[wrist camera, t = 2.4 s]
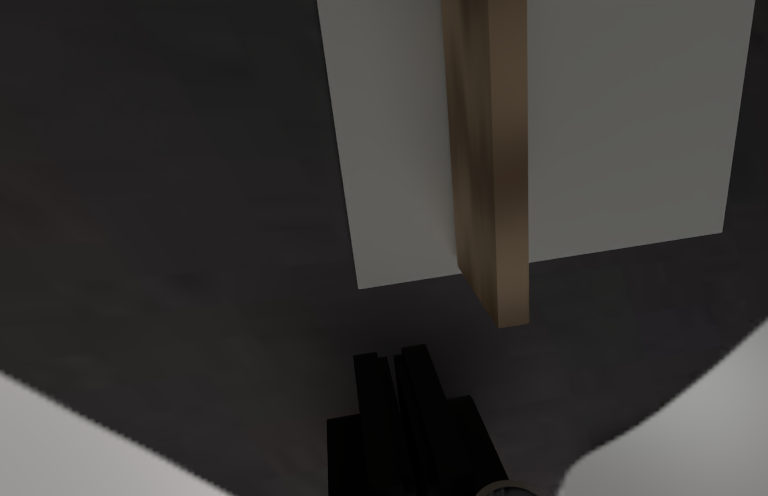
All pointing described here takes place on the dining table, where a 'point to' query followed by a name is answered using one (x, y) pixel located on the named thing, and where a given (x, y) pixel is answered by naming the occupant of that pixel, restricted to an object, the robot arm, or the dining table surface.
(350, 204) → the card
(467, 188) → the gate panel
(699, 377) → the dining table surface
